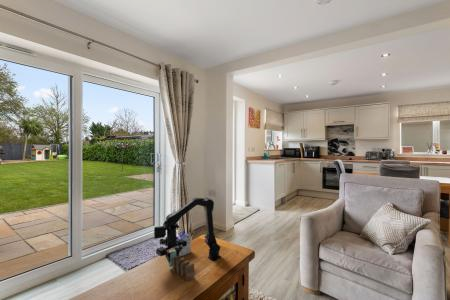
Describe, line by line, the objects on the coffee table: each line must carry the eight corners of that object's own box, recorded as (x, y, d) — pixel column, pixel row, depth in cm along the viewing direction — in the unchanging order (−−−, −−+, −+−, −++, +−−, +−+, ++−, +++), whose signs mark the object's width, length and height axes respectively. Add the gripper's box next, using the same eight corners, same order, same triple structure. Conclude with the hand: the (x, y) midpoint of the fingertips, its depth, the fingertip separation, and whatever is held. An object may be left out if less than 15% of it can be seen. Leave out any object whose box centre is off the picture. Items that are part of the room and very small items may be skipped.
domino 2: (172, 271, 128) (172, 258, 128) (179, 268, 131) (178, 255, 131) (174, 272, 127) (173, 259, 127) (180, 269, 130) (180, 256, 130)
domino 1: (168, 266, 131) (168, 253, 131) (175, 263, 134) (174, 250, 134) (170, 267, 130) (169, 254, 130) (176, 263, 133) (176, 251, 133)
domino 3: (176, 274, 125) (176, 260, 125) (183, 270, 128) (183, 257, 128) (178, 275, 124) (177, 261, 124) (185, 271, 127) (184, 258, 127)
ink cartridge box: (187, 249, 155) (186, 229, 155) (191, 252, 151) (190, 231, 151) (175, 254, 149) (174, 233, 149) (178, 257, 145) (178, 235, 144)
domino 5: (185, 280, 119) (185, 266, 119) (192, 276, 122) (192, 262, 122) (187, 281, 118) (187, 267, 118) (194, 277, 121) (194, 263, 121)
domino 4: (181, 277, 122) (180, 263, 122) (188, 273, 125) (187, 260, 125) (182, 278, 121) (182, 264, 121) (189, 274, 124) (189, 261, 124)
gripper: (177, 228, 144) (177, 251, 144) (151, 237, 131) (151, 262, 131) (187, 232, 137) (187, 256, 137) (160, 242, 123) (161, 269, 123)
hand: (172, 260), depth 132 cm, fingers closed on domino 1, 5 cm apart
